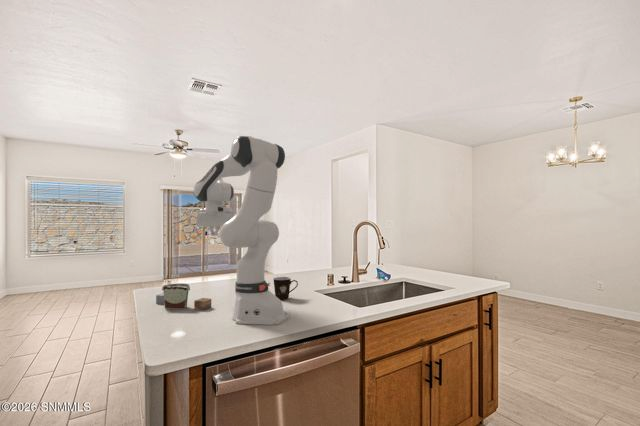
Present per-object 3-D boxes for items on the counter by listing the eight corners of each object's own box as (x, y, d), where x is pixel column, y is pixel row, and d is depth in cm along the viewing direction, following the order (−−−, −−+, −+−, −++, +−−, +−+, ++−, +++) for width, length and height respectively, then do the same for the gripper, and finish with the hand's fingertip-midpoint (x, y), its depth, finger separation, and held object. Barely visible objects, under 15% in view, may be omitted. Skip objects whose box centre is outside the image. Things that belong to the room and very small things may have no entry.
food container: (195, 305, 140) (195, 283, 140) (188, 309, 134) (188, 286, 134) (169, 304, 141) (170, 282, 141) (161, 308, 135) (161, 285, 135)
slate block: (172, 301, 146) (172, 293, 146) (164, 304, 142) (164, 295, 142) (164, 301, 148) (164, 292, 148) (156, 303, 143) (156, 295, 143)
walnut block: (211, 307, 136) (211, 298, 136) (203, 310, 132) (203, 301, 132) (202, 306, 138) (202, 297, 138) (194, 309, 133) (194, 300, 133)
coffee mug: (270, 300, 148) (271, 279, 148) (276, 296, 157) (276, 276, 157) (294, 301, 146) (294, 280, 146) (298, 297, 155) (298, 277, 155)
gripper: (193, 208, 158) (193, 235, 157) (227, 208, 152) (227, 236, 151) (201, 209, 164) (201, 235, 163) (235, 208, 158) (234, 235, 157)
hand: (214, 235), depth 157 cm, fingers closed
